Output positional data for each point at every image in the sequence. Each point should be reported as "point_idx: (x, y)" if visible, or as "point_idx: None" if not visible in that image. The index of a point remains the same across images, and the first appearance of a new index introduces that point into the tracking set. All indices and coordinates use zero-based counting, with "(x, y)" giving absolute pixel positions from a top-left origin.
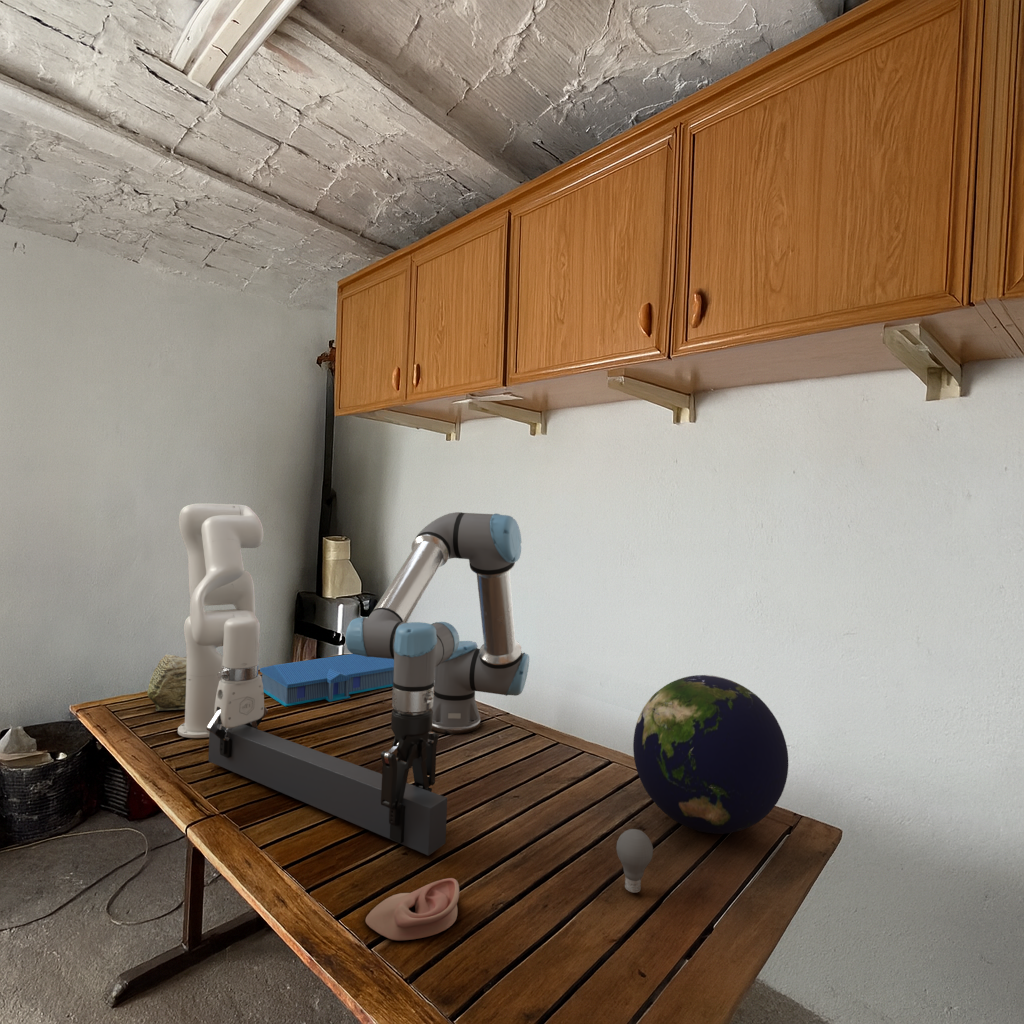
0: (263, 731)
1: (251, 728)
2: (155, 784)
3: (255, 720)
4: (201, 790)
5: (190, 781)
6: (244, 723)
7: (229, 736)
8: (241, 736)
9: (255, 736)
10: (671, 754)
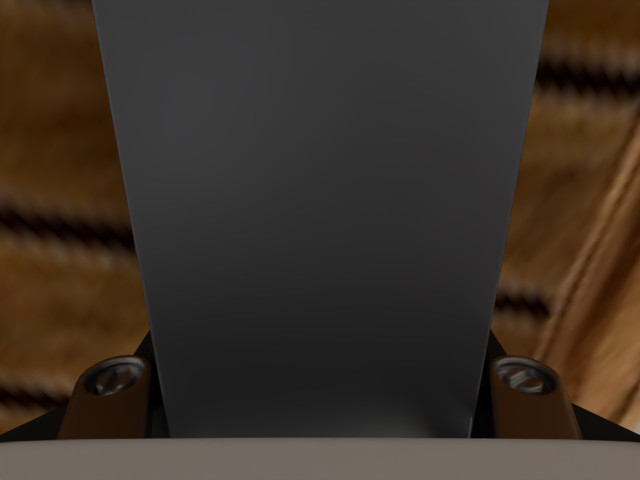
0: (115, 118)
1: (193, 363)
2: (624, 405)
3: (80, 439)
4: (585, 191)
5: (528, 323)
6: (360, 439)
7: (499, 384)
8: (501, 214)
9: (367, 5)
10: None
